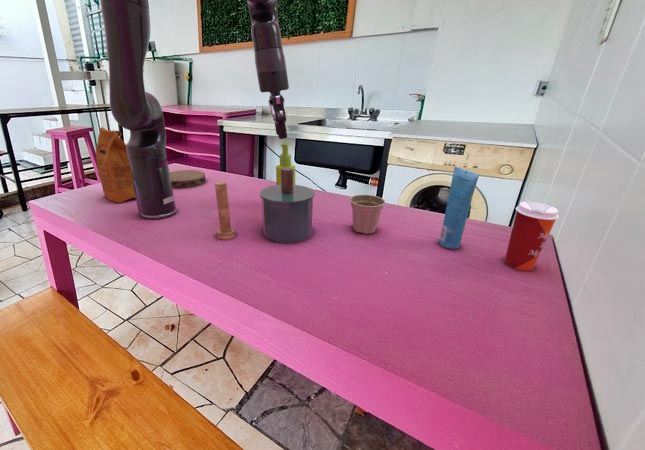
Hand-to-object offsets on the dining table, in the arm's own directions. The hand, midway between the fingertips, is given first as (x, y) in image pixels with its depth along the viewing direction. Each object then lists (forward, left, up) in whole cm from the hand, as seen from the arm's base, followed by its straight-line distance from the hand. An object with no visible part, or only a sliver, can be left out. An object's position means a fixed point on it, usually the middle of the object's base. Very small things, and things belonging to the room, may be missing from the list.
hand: (281, 136), depth 83 cm
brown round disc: (-50, +10, -23) cm, 56 cm away
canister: (+8, -11, -23) cm, 26 cm away
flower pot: (+26, 0, -23) cm, 34 cm away
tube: (+48, +1, -23) cm, 53 cm away
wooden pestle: (-5, -20, -23) cm, 31 cm away
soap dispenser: (-2, +6, -23) cm, 24 cm away
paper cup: (+63, -2, -23) cm, 67 cm away
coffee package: (-54, -12, -23) cm, 60 cm away
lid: (+8, -11, -12) cm, 18 cm away
